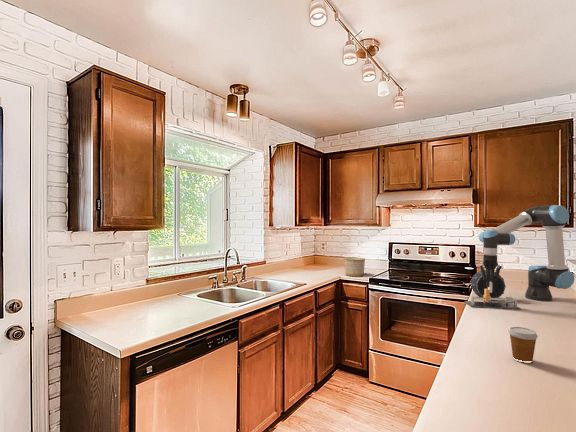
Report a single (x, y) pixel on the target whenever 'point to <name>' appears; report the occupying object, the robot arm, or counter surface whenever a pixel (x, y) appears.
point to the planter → (354, 266)
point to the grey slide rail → (508, 299)
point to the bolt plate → (492, 305)
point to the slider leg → (487, 295)
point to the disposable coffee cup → (523, 343)
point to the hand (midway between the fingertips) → (490, 292)
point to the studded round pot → (480, 285)
